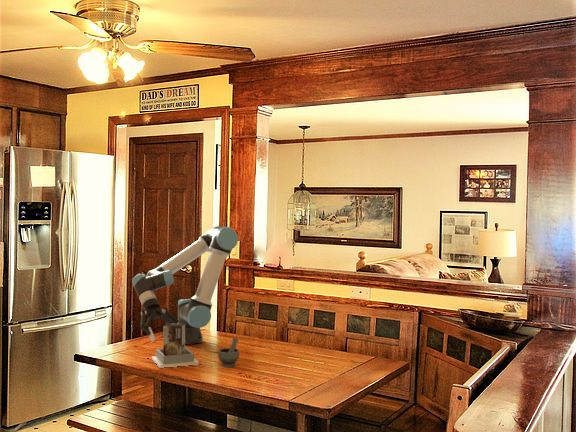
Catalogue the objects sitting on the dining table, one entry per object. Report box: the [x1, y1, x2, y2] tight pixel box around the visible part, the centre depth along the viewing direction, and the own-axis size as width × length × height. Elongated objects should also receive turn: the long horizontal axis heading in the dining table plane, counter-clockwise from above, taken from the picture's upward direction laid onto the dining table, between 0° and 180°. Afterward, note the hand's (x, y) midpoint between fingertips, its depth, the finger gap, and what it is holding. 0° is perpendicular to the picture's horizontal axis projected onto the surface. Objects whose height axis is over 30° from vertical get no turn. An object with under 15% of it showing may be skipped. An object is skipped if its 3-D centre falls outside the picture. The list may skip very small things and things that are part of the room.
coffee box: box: [162, 322, 186, 356], centre depth 282 cm, size 9×6×16 cm
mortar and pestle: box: [217, 337, 240, 368], centre depth 278 cm, size 11×9×12 cm
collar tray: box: [150, 346, 200, 369], centre depth 282 cm, size 18×18×5 cm
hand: (166, 338), depth 286 cm, fingers open, 13 cm apart
